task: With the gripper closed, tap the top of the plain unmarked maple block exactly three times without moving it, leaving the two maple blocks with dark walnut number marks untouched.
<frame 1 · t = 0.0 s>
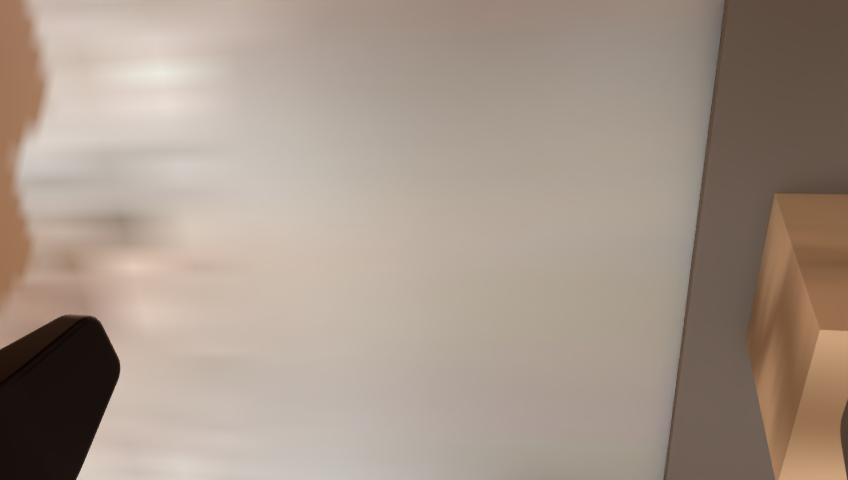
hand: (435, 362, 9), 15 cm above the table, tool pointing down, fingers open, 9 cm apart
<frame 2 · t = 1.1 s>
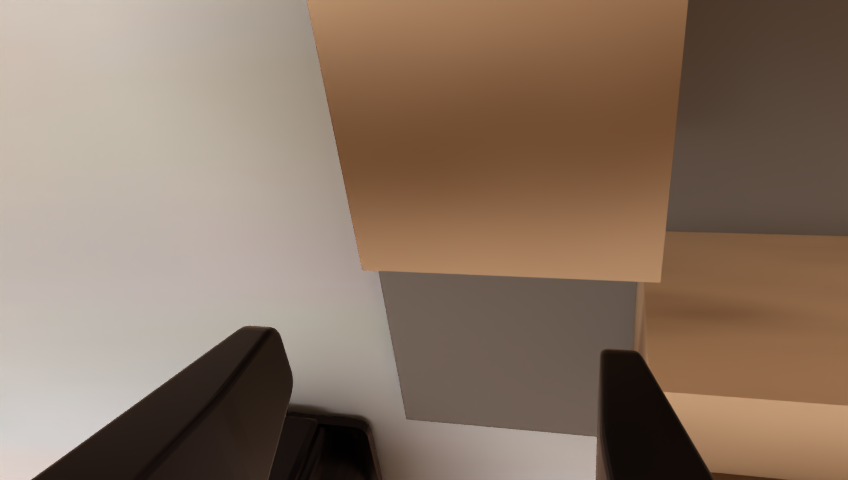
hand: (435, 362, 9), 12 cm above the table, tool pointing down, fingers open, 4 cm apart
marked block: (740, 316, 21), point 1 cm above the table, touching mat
mat: (655, 11, 17), on the table
plain block: (527, 25, 17), point 1 cm above the table, touching mat
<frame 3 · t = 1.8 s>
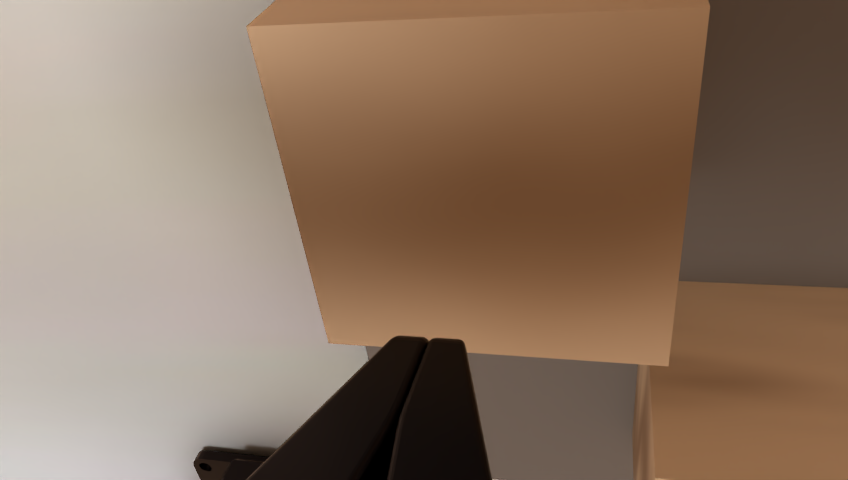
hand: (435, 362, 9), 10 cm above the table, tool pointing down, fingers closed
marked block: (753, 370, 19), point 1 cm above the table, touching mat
mat: (661, 43, 15), on the table
plain block: (518, 58, 16), point 1 cm above the table, touching mat
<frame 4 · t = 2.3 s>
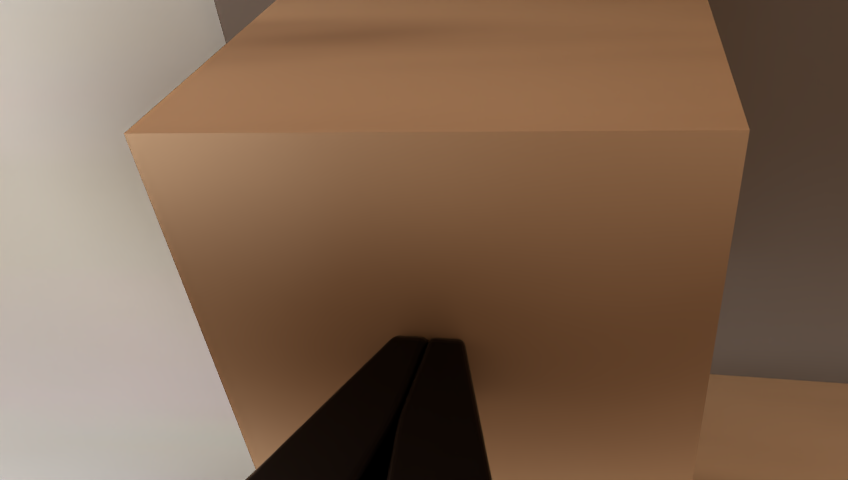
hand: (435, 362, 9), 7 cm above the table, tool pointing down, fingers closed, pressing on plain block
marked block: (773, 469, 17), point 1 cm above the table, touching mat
mat: (670, 109, 13), on the table
plain block: (499, 126, 13), point 1 cm above the table, touching gripper, mat
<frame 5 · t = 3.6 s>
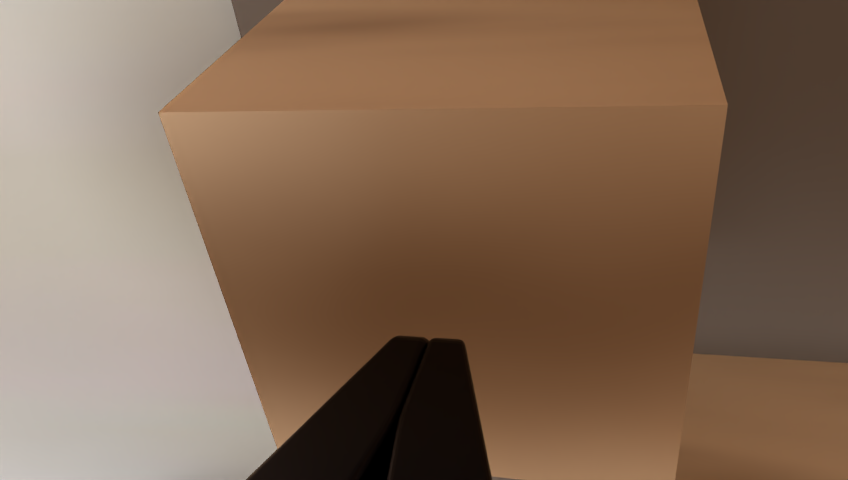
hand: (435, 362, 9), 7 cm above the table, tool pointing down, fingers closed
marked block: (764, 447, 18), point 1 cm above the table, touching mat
mat: (663, 98, 14), on the table
plain block: (501, 114, 14), point 1 cm above the table, touching mat
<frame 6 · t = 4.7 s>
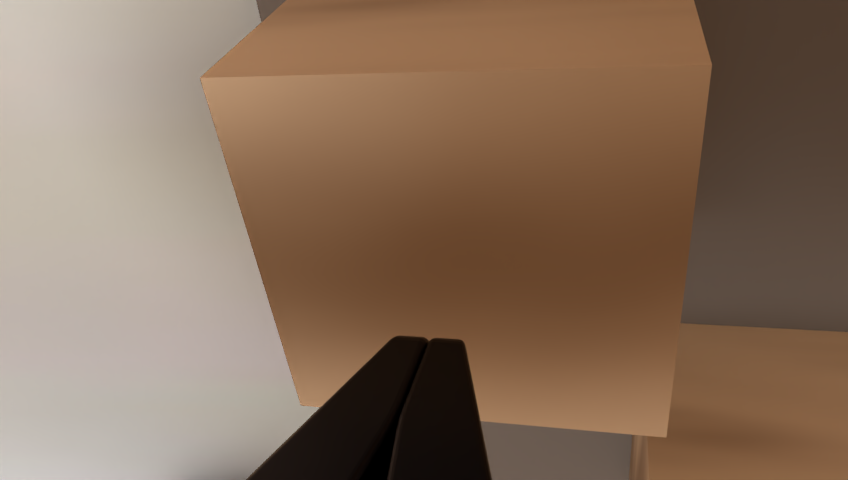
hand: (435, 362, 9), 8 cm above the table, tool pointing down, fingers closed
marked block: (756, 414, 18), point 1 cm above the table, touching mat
mat: (658, 78, 14), on the table
plain block: (506, 93, 15), point 1 cm above the table, touching mat
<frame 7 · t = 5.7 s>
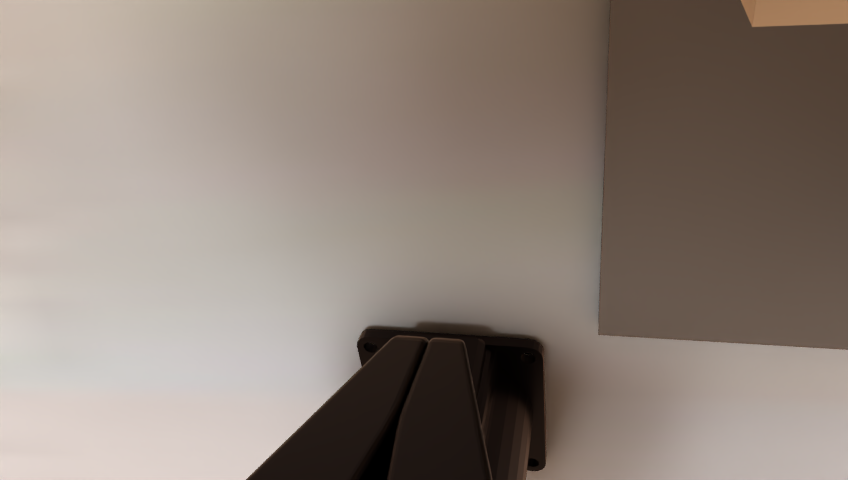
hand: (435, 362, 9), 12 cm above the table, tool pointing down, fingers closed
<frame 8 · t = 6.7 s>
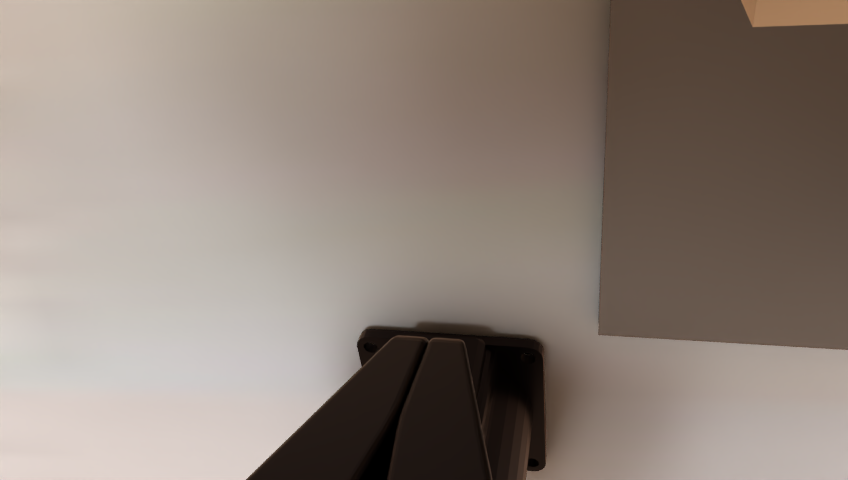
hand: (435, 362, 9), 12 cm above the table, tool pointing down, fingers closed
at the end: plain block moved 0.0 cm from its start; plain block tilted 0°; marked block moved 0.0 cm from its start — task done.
